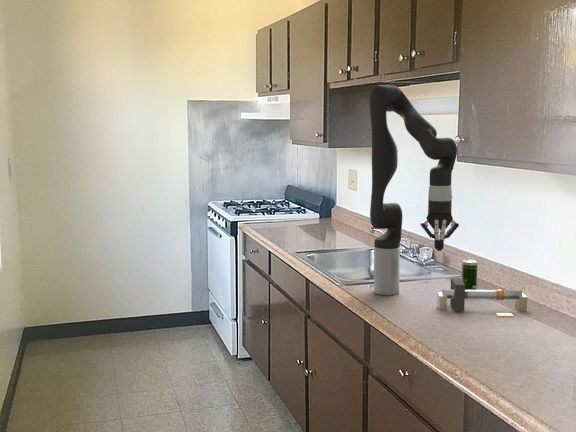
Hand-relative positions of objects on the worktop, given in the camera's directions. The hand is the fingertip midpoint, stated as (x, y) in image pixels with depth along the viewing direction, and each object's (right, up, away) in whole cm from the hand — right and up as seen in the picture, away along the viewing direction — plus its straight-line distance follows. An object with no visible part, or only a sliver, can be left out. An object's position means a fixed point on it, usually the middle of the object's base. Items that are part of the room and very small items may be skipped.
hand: (438, 250), depth 216 cm
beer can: (+16, -17, +22) cm, 32 cm away
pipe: (+14, -20, -1) cm, 25 cm away
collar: (+7, -20, +2) cm, 21 cm away
